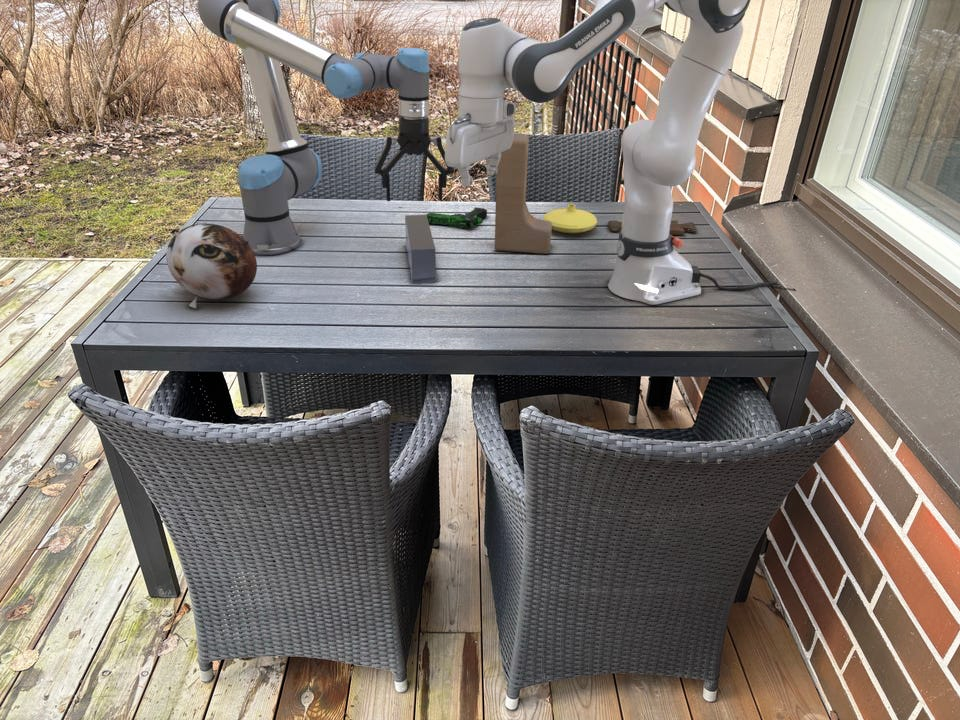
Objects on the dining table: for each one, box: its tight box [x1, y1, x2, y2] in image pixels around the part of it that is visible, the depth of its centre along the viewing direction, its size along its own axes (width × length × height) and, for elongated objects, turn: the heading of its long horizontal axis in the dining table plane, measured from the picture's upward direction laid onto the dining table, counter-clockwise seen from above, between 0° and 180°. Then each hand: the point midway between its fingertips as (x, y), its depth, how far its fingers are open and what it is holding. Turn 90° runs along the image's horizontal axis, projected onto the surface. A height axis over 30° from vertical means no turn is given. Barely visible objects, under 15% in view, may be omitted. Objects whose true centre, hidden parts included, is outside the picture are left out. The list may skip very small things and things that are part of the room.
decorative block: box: [494, 133, 553, 255], centre depth 190 cm, size 8×15×30 cm, turn 82°
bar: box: [404, 214, 437, 284], centre depth 186 cm, size 25×6×9 cm, turn 9°
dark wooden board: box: [607, 219, 697, 235], centre depth 211 cm, size 26×2×10 cm
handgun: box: [426, 207, 488, 230], centre depth 215 cm, size 16×3×15 cm
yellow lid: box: [543, 203, 598, 234], centre depth 209 cm, size 16×16×7 cm
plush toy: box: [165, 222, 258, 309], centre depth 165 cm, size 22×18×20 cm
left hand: (414, 199), depth 188 cm, fingers open, 13 cm apart
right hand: (479, 179), depth 147 cm, fingers open, 8 cm apart
